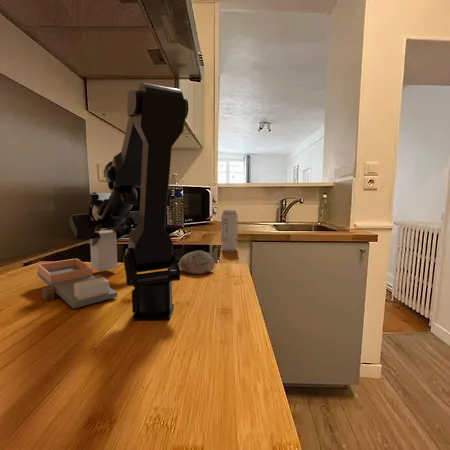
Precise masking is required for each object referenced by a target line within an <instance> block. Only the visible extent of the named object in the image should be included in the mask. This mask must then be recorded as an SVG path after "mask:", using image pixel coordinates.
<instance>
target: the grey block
mask: <svg viewBox="0 0 450 450" xmlns="http://www.w3.org/2000/svg"><path fill="white" fill-rule="evenodd" d="M99 234H100V236H101V238H100V239H99V240H98V241H97V242H96V244H95V245H93V246H91V244H90V243H89V244H90V248H89V249H90V264H91V266H90V267H91V268H92V270H95V271H98V272H104V271H107V270H114V269H118V268H119V267H118V245H117V240H116V232H115V231H113V230H107V229H102V230H100V231H99Z"/></svg>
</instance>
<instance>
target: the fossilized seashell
mask: <svg viewBox="0 0 450 450" xmlns="http://www.w3.org/2000/svg"><path fill="white" fill-rule="evenodd" d="M178 264H179V267H180V270H181V271H184V272H185V273H187V274H192V275H203V274H206V273H209V272H211V271H213V270H214V268H215V265H216V264H215V261H214V258H213V257H212V253H210V252H208V251H204V250H201V249H200V250H199V249H198V250H194V251H190V252H187V253H185V254H184V255H183V256H182V257H181V258H180V259H179V261H178Z"/></svg>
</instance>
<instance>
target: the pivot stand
mask: <svg viewBox="0 0 450 450" xmlns="http://www.w3.org/2000/svg"><path fill="white" fill-rule="evenodd" d="M93 276H94V277H95V278H102V277H104V278H106V276H104V275H102V274H98V275H93ZM55 298H56V297H55V291H54V288H53V287H52V286H50V285H49V286H48V285H45V286H41V299H42V300H44V301H45V302H47V301H51V300H52V301H53V300H55Z"/></svg>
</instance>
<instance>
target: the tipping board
mask: <svg viewBox="0 0 450 450" xmlns="http://www.w3.org/2000/svg"><path fill="white" fill-rule="evenodd" d="M36 271H37V277H39V278H40V280H42V281H43V282H44V283H45V284H46V286H49V285H50V286H52V287H53V288H54V293H56V294H57V295H58V297H60V298H61V299H63V300H64V301H65V303H66V304H68V305H69V306H70V307H71V308H72V309H77V308H81V307H84V306H89V305H93V304H94V303H99V302H103V301H106V300H111V299H115V298H118V291H116V290H114V289H113V288H112V287H110V280H109V279H107V278H106V277H105V276H104V277H105V278H104V277H102V278H95V277H94V276H95V275H93V268H91V266H90V265H88V264H86V262H83V261H82V260H81V259H79V258H77V257H76V258H71V259H69V258H68V259H64V260H57V261H51V262H44V263H38V264H37V270H36Z"/></svg>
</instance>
